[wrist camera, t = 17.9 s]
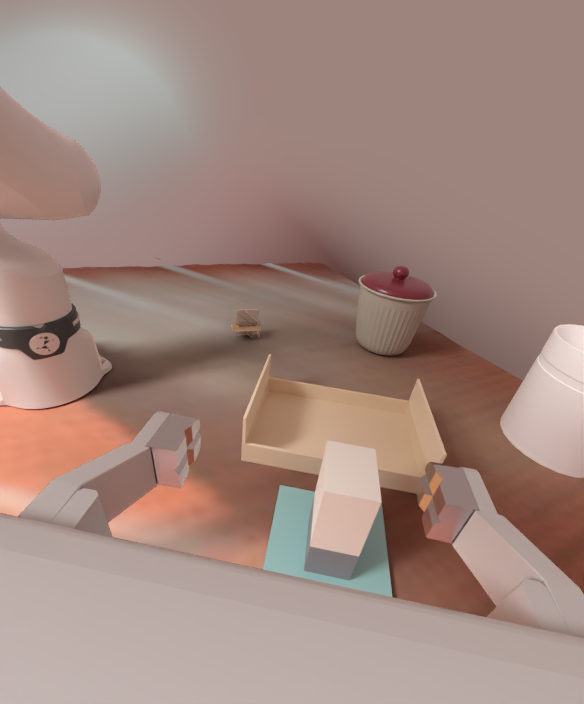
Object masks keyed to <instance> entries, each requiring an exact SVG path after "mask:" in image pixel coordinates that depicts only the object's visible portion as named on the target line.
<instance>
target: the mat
mask: <svg viewBox="0 0 584 704" xmlns="http://www.w3.org/2000/svg"><path fill="white" fill-rule="evenodd" d="M314 495H315V492H313V491H308V490H303V489H298V488H293V487H288V486H283V485H280V488H279V493H278V498H277V503H276V508H275V513H274V518H273V523H272V528H271V533H270V538H269V543H268V548H267V553H266V557H265V562H264V567H263V570H268V571H273V572H277V573H282V574H287V575H291V576H296V577H301V578H305V579H310V580H315V581H319V582H324V583H329V584H333V585H338V586H343V587H347V588H352V589H357V590H361V591H366V592H371V593H375V594H380V595H384V596H389V597H392V589H391V580H390V571H389V562H388V553H387V545H386V536H385V527H384V518H383V509H382V505H380V507H379V510H378V512H377V515H376V517H375V519H374V522H373V524H372V527H371V529H370V531H369V534H368V536H367V539H366V541H365V543H364V546H363V548H362V551H361V553H360V555H359V558H358V560H357V563H356V565H355V567H354V570H353V572H352V575H351V577H350V579H349V580H344V579H340V578H335V577H330V576H326V575H321V574H316V573H312V572H307V571H304V563H305V553H306V543H307V533H308V523H309V516H310V512H311V508H312V503H313V499H314Z"/></svg>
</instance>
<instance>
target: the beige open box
mask: <svg viewBox="0 0 584 704" xmlns="http://www.w3.org/2000/svg"><path fill="white" fill-rule="evenodd" d="M270 363H271V354H269V355H268V358H267V360H266V363H265V365H264V368H263V370H262V373H261V375H260V378H259V380H258V383H257V385H256V388H255V390H254V392H253V395H252V397H251V400H250V402H249V405H248V407H247V410H246V412H245V415H244V417H243V437H242V455H241V460H243V461H248V462H253V463H258V464H263V465H269V466H274V467H279V468H284V469H289V470H295V471H300V472H305V473H310V474H315V475H319V473H320V469H321V464H322V460H323V456H324V451H325V447H326V443H327V440H329V441H334V442H339V443H345V444H350V445H356V446H361V447H367V448H372V449H376V457H377V466H378V475H379V484H380V487H383V488H388V489H394V490H399V491H404V492H409V493H415V494H417V486H418V482H419V480H420V478H421V477H422V476H424V475H426V472H425V467H426V465H427V464H428V463H429V462H435V463H441V464H442V463H443V461H444V460H445V458H446V456H447V454H446V451H445V449H444V446H443V443H442V440H441V437H440V435H439V432H438V429H437V426H436V424H435V421H434V418H433V415H432V412H431V410H430V407H429V404H428V401H427V399H426V396H425V393H424V390H423V387H422V385H421V382H420V379H417V381H416V383H415V386H414V389H413V391H412V394H411V396H410V399H409V401H407V400H402V399H396V398H390V397H384V396H378V395H373V394H367V393H361V392H355V391H349V390H344V389H338V388H332V387H326V386H320V385H315V384H309V383H303V382H297V381H291V380H286V379H280V378H274V377H269V374H270Z"/></svg>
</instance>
